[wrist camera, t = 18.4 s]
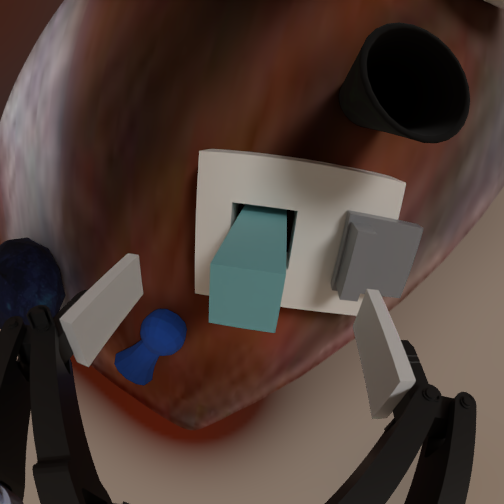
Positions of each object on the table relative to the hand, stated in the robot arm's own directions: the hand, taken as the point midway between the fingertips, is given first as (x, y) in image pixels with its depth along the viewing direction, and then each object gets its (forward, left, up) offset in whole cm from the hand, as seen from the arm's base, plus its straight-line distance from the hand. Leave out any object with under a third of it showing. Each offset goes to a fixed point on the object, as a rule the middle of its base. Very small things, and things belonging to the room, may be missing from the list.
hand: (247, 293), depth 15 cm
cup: (-14, +8, -14) cm, 21 cm away
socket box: (0, +3, -14) cm, 14 cm away
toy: (+20, -14, -14) cm, 28 cm away
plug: (0, 0, -14) cm, 14 cm away
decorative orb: (+11, -33, -14) cm, 38 cm away
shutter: (0, +10, -10) cm, 14 cm away
